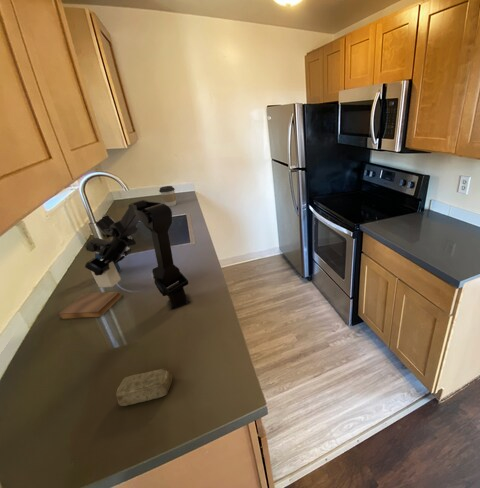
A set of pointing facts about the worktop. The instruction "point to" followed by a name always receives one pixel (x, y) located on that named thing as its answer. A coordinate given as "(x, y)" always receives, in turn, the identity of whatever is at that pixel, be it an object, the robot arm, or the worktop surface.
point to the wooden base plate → (90, 305)
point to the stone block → (144, 387)
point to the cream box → (107, 277)
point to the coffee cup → (168, 195)
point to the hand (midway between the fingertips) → (101, 271)
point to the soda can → (102, 259)
